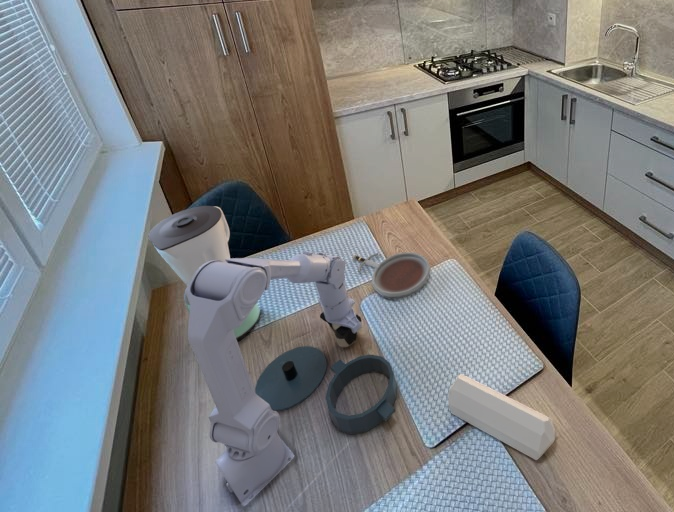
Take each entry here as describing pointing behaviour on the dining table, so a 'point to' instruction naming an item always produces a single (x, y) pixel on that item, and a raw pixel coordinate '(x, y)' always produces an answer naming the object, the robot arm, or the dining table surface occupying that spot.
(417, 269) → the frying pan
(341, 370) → the pot
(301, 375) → the lid
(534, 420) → the beveled cream prism
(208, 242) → the blender
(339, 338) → the cylinder
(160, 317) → the dining table surface
